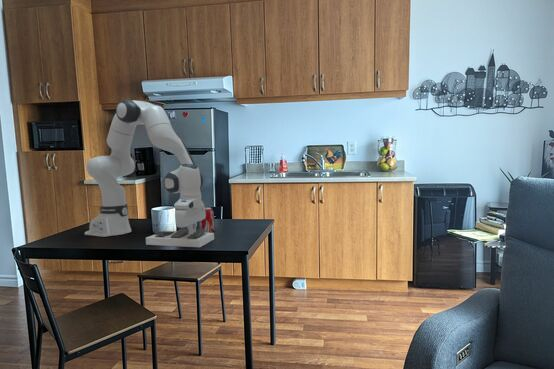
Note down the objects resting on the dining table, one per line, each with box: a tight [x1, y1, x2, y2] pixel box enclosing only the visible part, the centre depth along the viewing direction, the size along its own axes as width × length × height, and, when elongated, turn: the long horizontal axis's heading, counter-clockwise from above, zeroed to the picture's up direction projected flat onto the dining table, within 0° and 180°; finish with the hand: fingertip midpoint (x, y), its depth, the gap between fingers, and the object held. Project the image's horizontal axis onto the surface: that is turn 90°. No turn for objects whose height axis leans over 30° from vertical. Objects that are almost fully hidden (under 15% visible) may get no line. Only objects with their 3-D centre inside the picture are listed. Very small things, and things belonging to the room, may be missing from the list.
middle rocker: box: [171, 227, 189, 238], centre depth 168 cm, size 4×9×2 cm, turn 164°
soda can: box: [199, 206, 215, 233], centre depth 186 cm, size 7×7×12 cm
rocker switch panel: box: [145, 230, 215, 248], centre depth 168 cm, size 26×14×3 cm, turn 74°
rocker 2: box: [187, 228, 205, 239], centre depth 165 cm, size 4×9×2 cm, turn 164°
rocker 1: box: [154, 230, 174, 235], centre depth 170 cm, size 4×9×2 cm, turn 164°
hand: (192, 233), depth 163 cm, fingers closed
